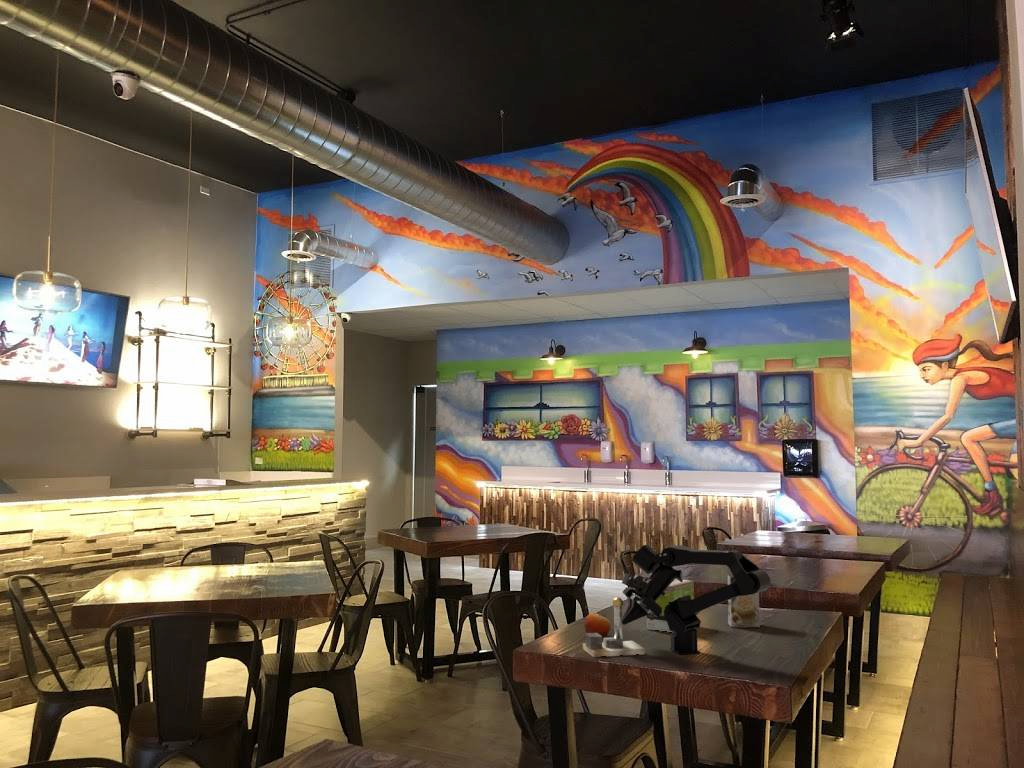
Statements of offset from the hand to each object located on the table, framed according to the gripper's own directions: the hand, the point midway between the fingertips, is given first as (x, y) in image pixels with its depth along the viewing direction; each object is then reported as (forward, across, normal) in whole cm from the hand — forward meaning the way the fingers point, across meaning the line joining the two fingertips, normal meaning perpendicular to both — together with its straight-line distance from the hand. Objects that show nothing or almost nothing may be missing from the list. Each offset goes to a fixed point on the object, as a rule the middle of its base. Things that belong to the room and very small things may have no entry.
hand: (622, 623), depth 233 cm
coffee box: (-29, -24, +40) cm, 55 cm away
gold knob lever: (+6, 0, +2) cm, 7 cm away
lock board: (+7, 0, +3) cm, 8 cm away
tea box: (-12, -26, +23) cm, 37 cm away
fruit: (+7, -19, +4) cm, 20 cm away
